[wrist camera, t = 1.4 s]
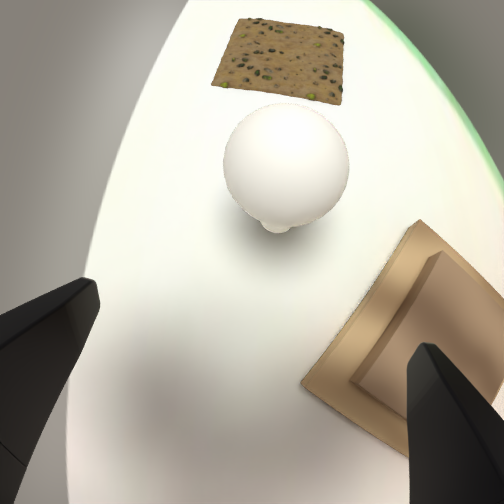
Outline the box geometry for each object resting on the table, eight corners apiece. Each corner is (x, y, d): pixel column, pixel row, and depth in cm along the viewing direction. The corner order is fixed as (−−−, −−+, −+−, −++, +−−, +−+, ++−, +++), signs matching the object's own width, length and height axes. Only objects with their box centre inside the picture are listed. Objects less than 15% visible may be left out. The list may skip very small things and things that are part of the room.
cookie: (237, 20, 30) (237, 14, 29) (343, 36, 29) (345, 30, 28) (208, 89, 27) (207, 82, 26) (341, 109, 26) (343, 103, 25)
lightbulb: (232, 261, 22) (211, 194, 12) (235, 181, 24) (222, 76, 13) (320, 262, 22) (374, 199, 12) (316, 182, 24) (353, 82, 13)
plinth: (430, 470, 18) (455, 486, 14) (300, 382, 20) (310, 393, 16) (513, 327, 21) (543, 324, 17) (408, 227, 23) (432, 209, 19)
